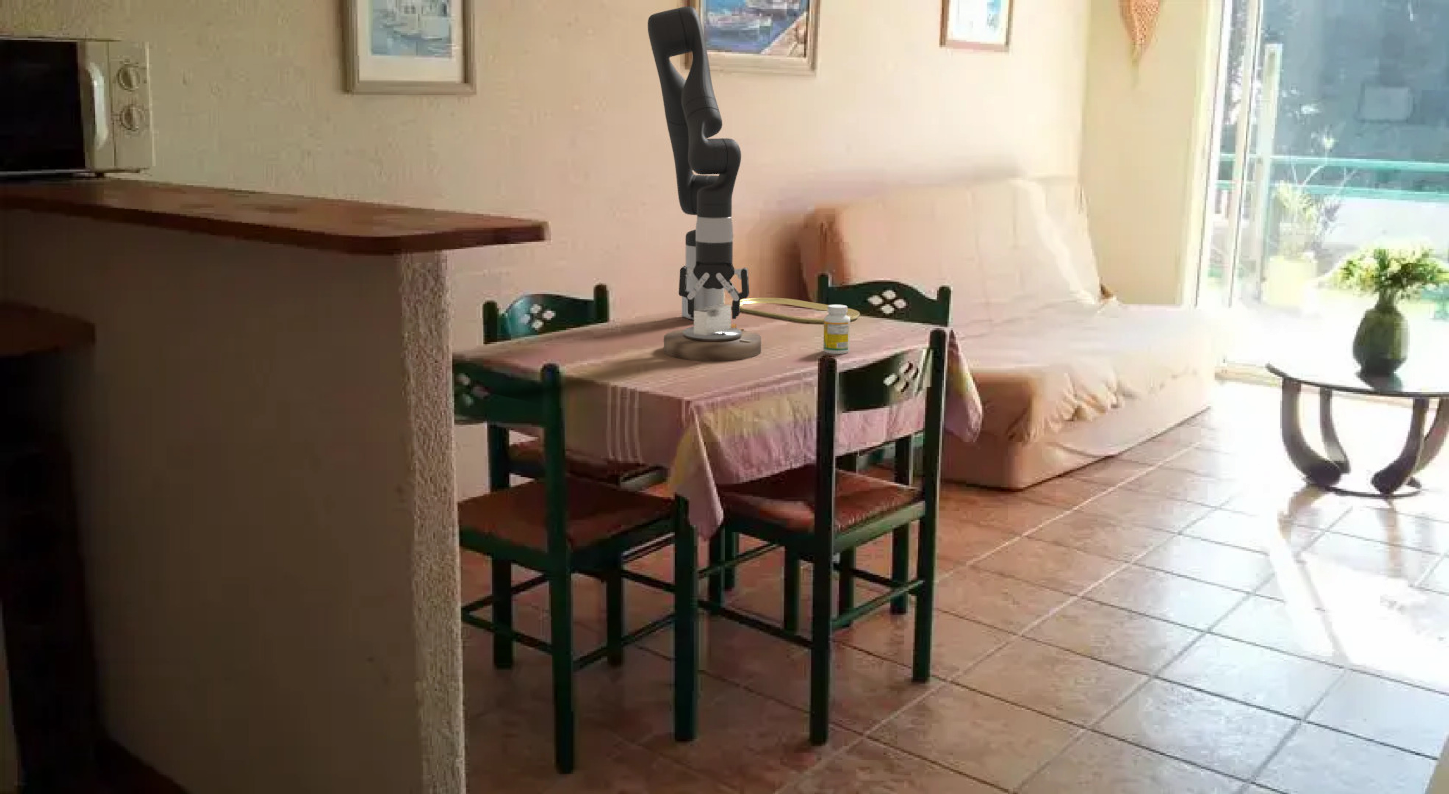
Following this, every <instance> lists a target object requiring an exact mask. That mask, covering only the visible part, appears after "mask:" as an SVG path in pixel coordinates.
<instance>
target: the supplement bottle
mask: <svg viewBox="0 0 1449 794" xmlns="http://www.w3.org/2000/svg"><path fill="white" fill-rule="evenodd" d="M827 305H828V311H827V313H828V315H826V316H825V317H824V318H823V319H824V323H823V348H822V349H823V351H824V352H825V353H827V354H830V355H845V354H848V353H849V351H850V337H851V336H850V332H851V330H850V329H851V321H850V318H849V317H850V316H849V315H847V314H846V313H847V308H848V306H847V305H844V304H827Z"/></svg>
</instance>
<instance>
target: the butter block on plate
mask: <svg viewBox="0 0 1449 794" xmlns="http://www.w3.org/2000/svg"><path fill="white" fill-rule="evenodd" d="M740 329H741V328H740ZM740 329H739V328H737V323H732V304H725V303H724V304H717V305H713V306H709V307H706V308H702V309H699V310H695V311H694V320H693V326H691V327H688V328H685V330H684V329H683V330H684V331H683V336H684V337H685V338H688V339H691V340H698V341H729V340H735V339H739V338H741V337H742V331H741V330H740Z"/></svg>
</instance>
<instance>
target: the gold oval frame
mask: <svg viewBox="0 0 1449 794" xmlns="http://www.w3.org/2000/svg"><path fill="white" fill-rule="evenodd" d="M743 304H749V305H756V304H757V305H758V304H760V305H761V304H776V305H779V304H780V305H789V306H790V305H791V306H794V307H795V306H796V307H801V308H808V309H814V310H820V311H826V312H828V305H829V304H825V303H818V302H817V303H816V302H814V301H813V302H810V301H807V300H806V301H805V300H801V299H793V298H783V297H782V298H781V297H752V298H751V297H750V298H744V299H741V300H740V312H743V313H748V314H753V315H759V316H764V317H770V318H775V319H777V318H778V319H781V320H786V319H788V320H789V321H792V320H793V322H799V323H806V322H809V323H808V324H824V318H807V317H797V316H791V315H786V314H782V313H775V312H770V311H769V312H768V311H764V310H758V309H752V308H746V307H743V306H744V305H743ZM846 316H848V317H849V318H850V322H851V321H854V320H856V319H858V317H859V316H860V311H858V310H856V309H853V308H848V307H847V313H846ZM788 320H787V321H788Z"/></svg>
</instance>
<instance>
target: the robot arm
mask: <svg viewBox="0 0 1449 794" xmlns="http://www.w3.org/2000/svg"><path fill="white" fill-rule="evenodd" d="M647 33H648V38H649V42H650V46H651V51H652V55H653V59H654V62H655V66H656V71H657V75H658V79H659V83H660V89H661V95H662V101H663V106H664V107H663V108H664V115H665V120H666V126H667V130H668V131H667V132H668V136H669V139H670V145H671V148H672V153H673V154H672V155H673V160H674V167H675V176H676V187H677V194H678V202H679V206H680V209H681V210H682V212H683V213H684V214H685V215H689V216H696V221H695V222H696V223H695V229H693V230H690V231H688V232H686V233H685V265H683V266H681V267H680V269H679V280H678V281H679V283H678V295H679V296H680V297H681V317H683V318H686V319H688V320H689V319H690V320H692V321H694V311H695V310H699V309H702V308H706V307H709V306H713V305H717V304H724V305H725V290H726V292H727V294H729V295H730V297H731V298H732V299H733V300H732V301H731V302H732V303H731V320H736V319H737V318H738V317H739V316H740V313H741V311H740V307H741V306H740V300H742V299H748V297H749V295H750V282H749V280H750V279H749V268H748V267H745V266H744V267H743V268H735V267H734V264H733V261H734V259H733V257H734V255H733V254H734V249H733V247H734V245H733V244H734V243H733V241H734V227H733V218H732V215H733V211H732V210H733V209H732V208H733V206H732V204H733V193H734V188H735V183H736V180H737V177H738V174H739V169H740V166H741V162H742V151H741V147H740V146H739V143H738V142H737V141H736V140H735V139H732V138H729V137H728V138H720V137H719V138H712V137H714V136H716V135H717V134H719V133H720V131H721V130H722V127H723V119H722V116H721V113H720V110H719V109H720V108H719V106H718V102H717V99H716V95H715V93H714V89H713V83H712V76H711V68H710V62H709V55H708V51H707V44H706V39H705V35H704V29H703V26H702V22H701V18H700V16H699V13H698V11H697V10H696V8H694V6H693V7H692V6H690V5H689V6H682V7H676V8H674V9H667V10H663V11H661V12H656V13H653V14H650V16H649V17H648V19H647ZM688 53H692V59H691V60H692V61H691V65H690V69H689V72H688V75H687V77H686V79H685V78H684V76H682V75H681V74H680V73H679V71H678V70H677V68H676V67H675V65H673V62H672V61H671V59H670V58H672V57H677V56H681V55H684V54H685V55H686V54H688ZM694 173H695V174H694ZM735 275H736V276H737V278H738V279H739V280H740V281H741V283H740V284H741V292H739V291H738V290H737V288H736V286H735V285H734V284H733V283H732V281H731V279H732V278H733V277H734V276H735Z"/></svg>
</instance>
